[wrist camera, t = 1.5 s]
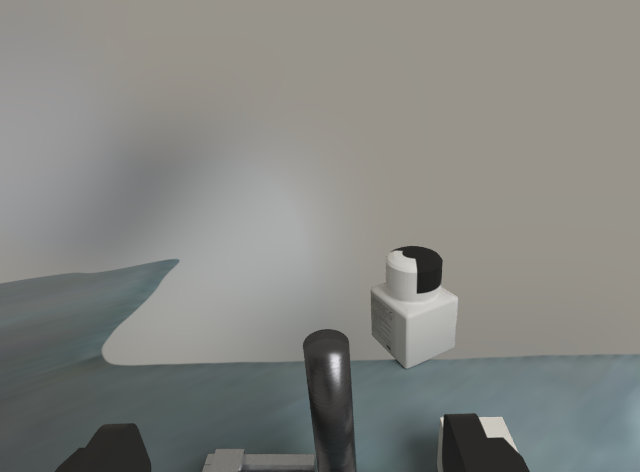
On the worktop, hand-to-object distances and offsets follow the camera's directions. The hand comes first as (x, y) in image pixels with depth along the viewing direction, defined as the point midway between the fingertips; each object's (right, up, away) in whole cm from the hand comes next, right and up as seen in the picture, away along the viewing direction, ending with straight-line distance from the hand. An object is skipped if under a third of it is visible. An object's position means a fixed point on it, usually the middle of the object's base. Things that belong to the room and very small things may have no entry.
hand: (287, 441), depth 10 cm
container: (+13, -9, +39) cm, 42 cm away
